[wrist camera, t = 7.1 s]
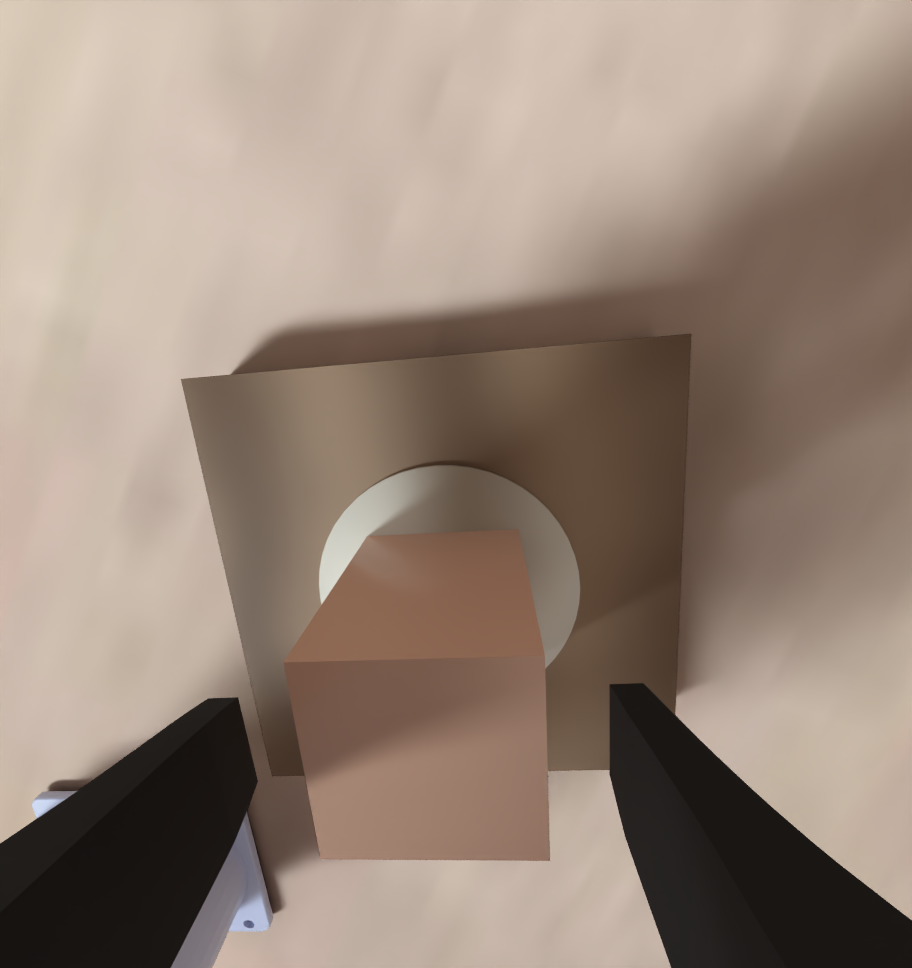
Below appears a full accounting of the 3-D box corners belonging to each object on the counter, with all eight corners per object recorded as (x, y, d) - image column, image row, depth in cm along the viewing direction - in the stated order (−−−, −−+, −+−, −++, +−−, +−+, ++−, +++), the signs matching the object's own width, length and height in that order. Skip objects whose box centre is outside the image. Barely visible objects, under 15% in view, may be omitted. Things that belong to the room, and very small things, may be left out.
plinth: (298, 723, 19) (269, 781, 16) (227, 376, 16) (176, 379, 13) (647, 713, 18) (675, 773, 15) (656, 338, 14) (694, 333, 12)
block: (383, 665, 15) (320, 859, 9) (366, 535, 14) (283, 662, 8) (523, 662, 15) (549, 860, 9) (518, 529, 13) (544, 655, 8)
